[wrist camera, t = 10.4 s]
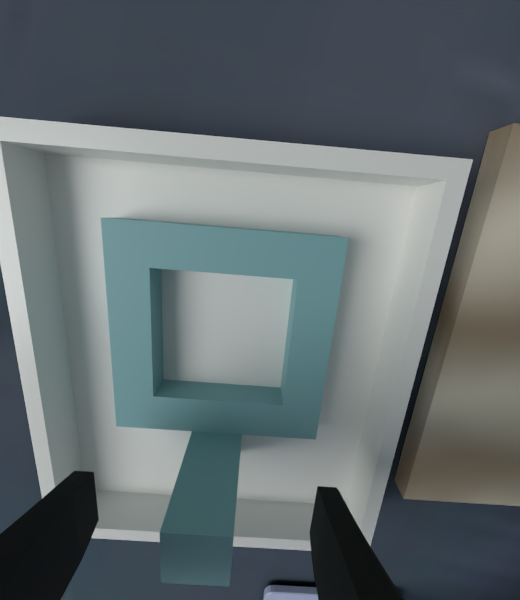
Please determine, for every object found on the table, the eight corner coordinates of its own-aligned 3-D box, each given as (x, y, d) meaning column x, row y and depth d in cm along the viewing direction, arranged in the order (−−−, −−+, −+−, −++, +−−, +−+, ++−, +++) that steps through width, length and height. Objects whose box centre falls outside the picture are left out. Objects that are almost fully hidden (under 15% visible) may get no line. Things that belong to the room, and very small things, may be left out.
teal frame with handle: (305, 455, 13) (331, 592, 8) (131, 444, 13) (56, 577, 8) (338, 235, 10) (407, 252, 6) (118, 217, 10) (-7, 217, 5)
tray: (350, 499, 15) (368, 553, 13) (83, 483, 15) (48, 535, 12) (424, 172, 10) (472, 159, 8) (41, 138, 10) (-26, 114, 8)
